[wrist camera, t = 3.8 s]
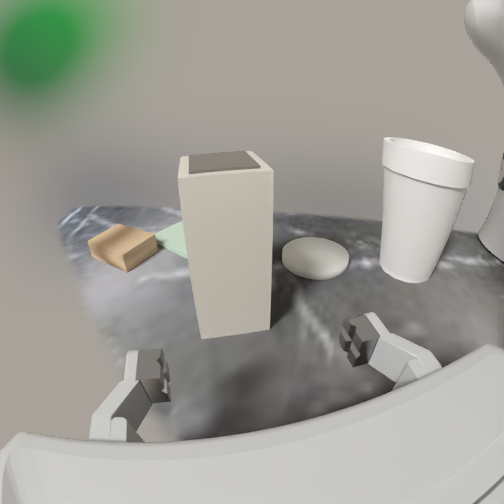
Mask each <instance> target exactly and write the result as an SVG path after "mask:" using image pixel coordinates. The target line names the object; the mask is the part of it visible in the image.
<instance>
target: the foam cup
mask: <svg viewBox="0 0 504 504" xmlns="http://www.w3.org/2000/svg"><path fill="white" fill-rule="evenodd" d="M474 164H475V161H474V160H472V159H471V158H469V157H467V156H465V155H462V154H460V153H458V152H455V151H452V150H449V149H446V148H443V147H440V146H436V145H432V144H428V143H425V142H420V141H415V140H409V139H403V138H394V137H389V138H384V141H383V152H382V165H384V184H383V186H384V187H383V190H384V191H383V217H382V235H381V248H380V266H381V267H382V268H383V270H384V271H385V272H386V273H388V274H389V275H391V276H392V277H394V278H396V279H399V280H402V281H404V282H408V283H421V282H424V281H427V280H428V279H429V277H430V276H431V274H432V272H433V270H434V268H435V266H436V264H437V262H438V260H439V258H440V256H441V254H442V251H443V249H444V247H445V245H446V243H447V240H448V238H449V236H450V233H451V231H452V228H453V226H454V223H455V220H456V218H457V216H458V213H459V211H460V208H461V205H462V202H463V200H464V197H465V194H466V191H467V188H469V186H470V184H471V180H472V175H473V169H474Z"/></svg>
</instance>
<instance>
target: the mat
mask: <svg viewBox="0 0 504 504" xmlns="http://www.w3.org/2000/svg"><path fill="white" fill-rule="evenodd" d="M155 236H156V242H157V244H159V245H161V246H162V247H164V248H166V249H168V250H170V251H172V252H174V253H176V254H178V255H180V256H182V257H184V258H186V259H188V257H187V250H186V243H185V236H184V229H183V221H181V222H179V223H176V224H174V225H172V226H170V227H168V228H166V229H163V230H161V231H159V232H157V233H155Z"/></svg>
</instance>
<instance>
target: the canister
mask: <svg viewBox="0 0 504 504" xmlns="http://www.w3.org/2000/svg"><path fill="white" fill-rule="evenodd" d="M273 175H274V170H273V169H271V168H270V167H269V166H268V165H267V164H266V163H265V162H264V161H262V160H261V159H260V158H259V157H258V156H257V155H256V154H254V153H253V152H252V151H237V152H222V153H210V154H199V155H190V156H186V157H185V156H184V157H181V159H180V165H179V172H178V186H179V195H180V204H181V213H182V221H183V229H184V236H185V243H186V250H187V257H188V264H189V271H190V277H191V283H192V289H193V295H194V301H195V307H196V312H197V318H198V323H199V329H200V334H201V339H208V338H215V337H223V336H230V335H237V334H244V333H251V332H257V331H263V330H269V329H270V310H271V279H272V240H273V179H274V178H273Z"/></svg>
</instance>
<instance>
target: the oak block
mask: <svg viewBox="0 0 504 504" xmlns="http://www.w3.org/2000/svg"><path fill="white" fill-rule="evenodd" d="M88 244H89V248H90V251H91V254H92V257H94V258H96V259H98V260H100V261H102V262H105V263H107V264H109V265H111V266H113V267H116V268H118V269H120V270H122V271H125V272H129V271H130V270H132V269H133V268H134V267H136V266H137V265H139V264H140V263H141V262H143V261H144V260H146V259H147V258H149V257H150V256H152V255H153V254H154V253H156V252H157V251H158V247H157V242H156V236H155V234H153V233H149V232H146V231H142V230H138V229H135V228H131V227H127V226H124V225H120V224H117V225H115V226H113V227H111V228H110V229H108V230H106V231H104V232H103V233H101V234H99V235H97V236H96V237H94V238H92V239H91V240H89V241H88Z"/></svg>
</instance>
